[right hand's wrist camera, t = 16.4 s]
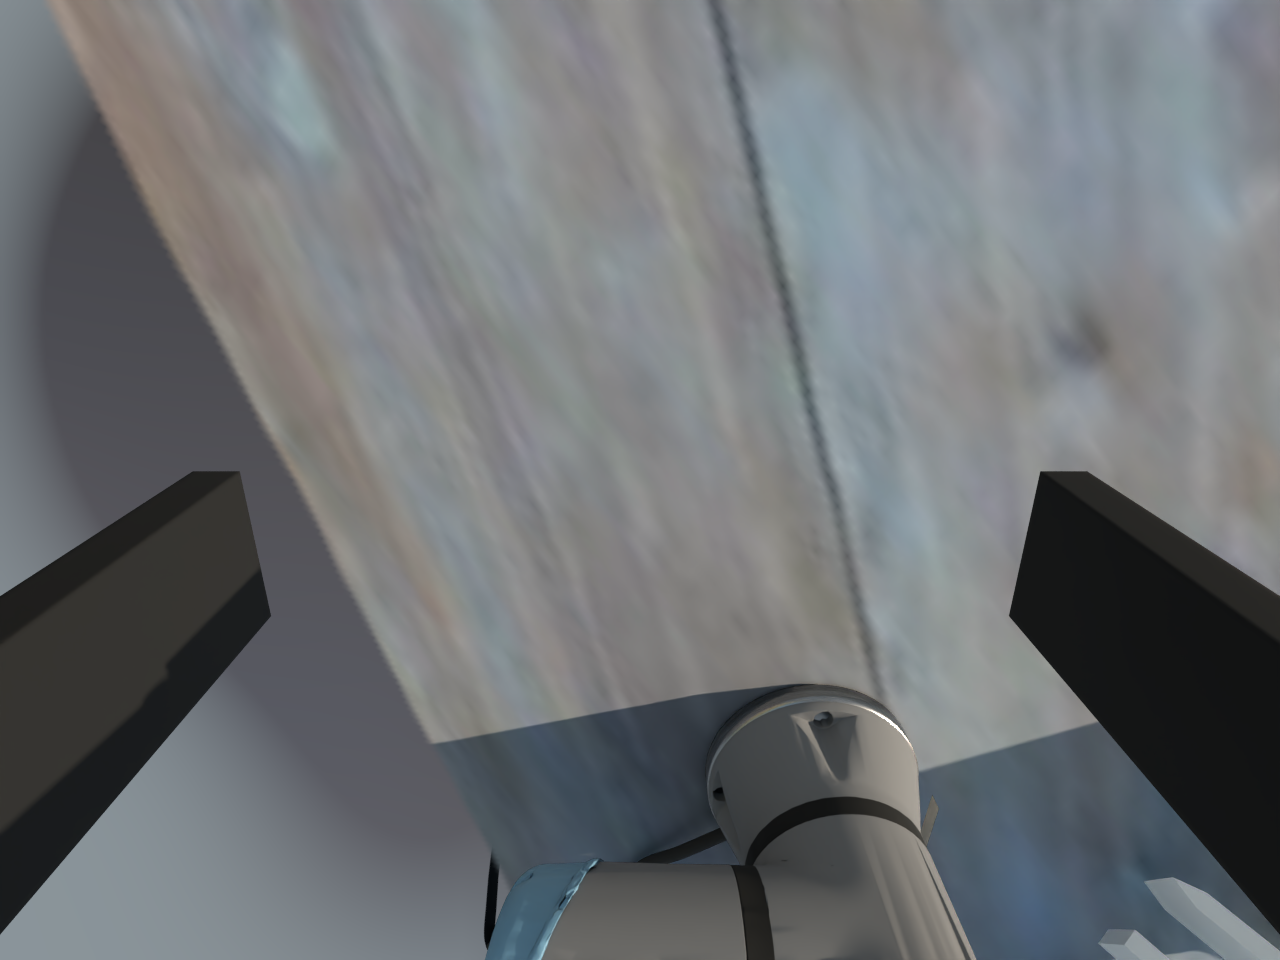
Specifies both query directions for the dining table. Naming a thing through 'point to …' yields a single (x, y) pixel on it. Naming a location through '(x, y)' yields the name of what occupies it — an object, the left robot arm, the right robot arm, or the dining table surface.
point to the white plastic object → (1192, 927)
